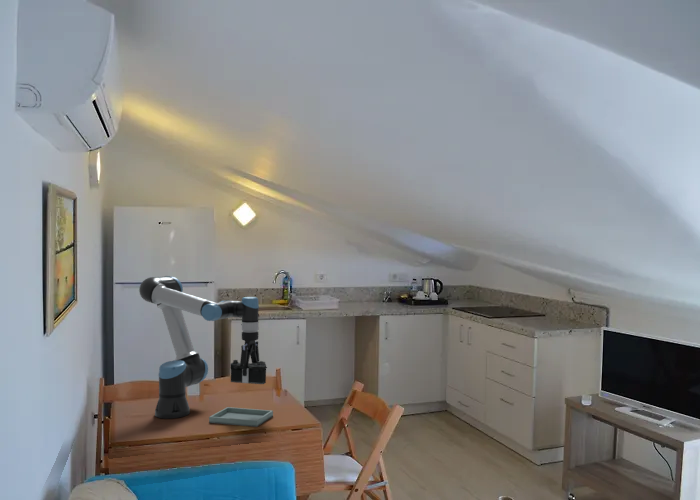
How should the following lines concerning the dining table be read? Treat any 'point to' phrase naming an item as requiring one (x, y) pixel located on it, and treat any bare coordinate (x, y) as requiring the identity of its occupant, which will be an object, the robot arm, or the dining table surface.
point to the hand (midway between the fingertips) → (249, 380)
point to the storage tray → (241, 416)
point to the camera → (255, 372)
